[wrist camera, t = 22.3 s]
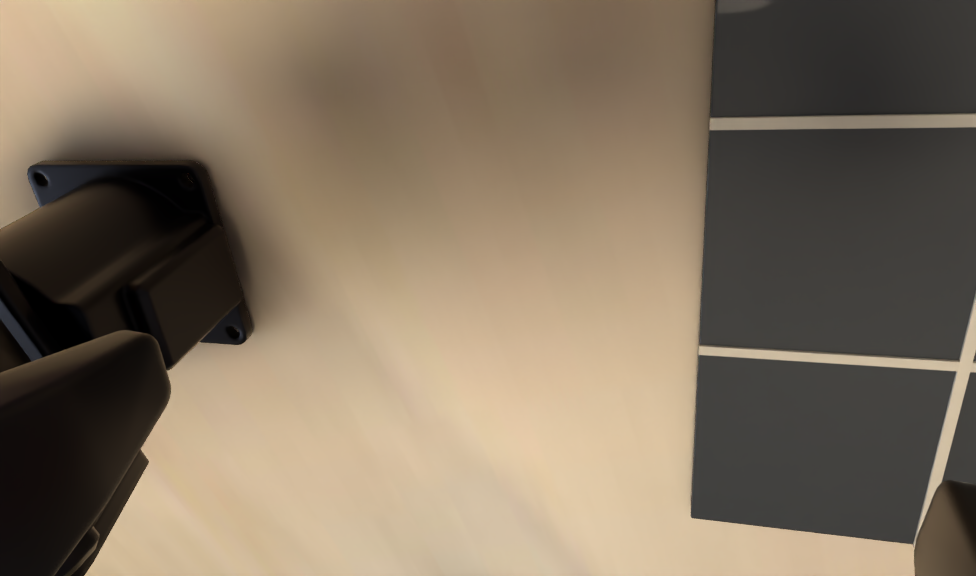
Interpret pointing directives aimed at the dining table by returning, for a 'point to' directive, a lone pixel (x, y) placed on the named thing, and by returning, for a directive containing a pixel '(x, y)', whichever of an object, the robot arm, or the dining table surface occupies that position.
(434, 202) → the dining table surface
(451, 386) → the dining table surface
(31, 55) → the dining table surface
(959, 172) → the grid
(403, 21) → the dining table surface
